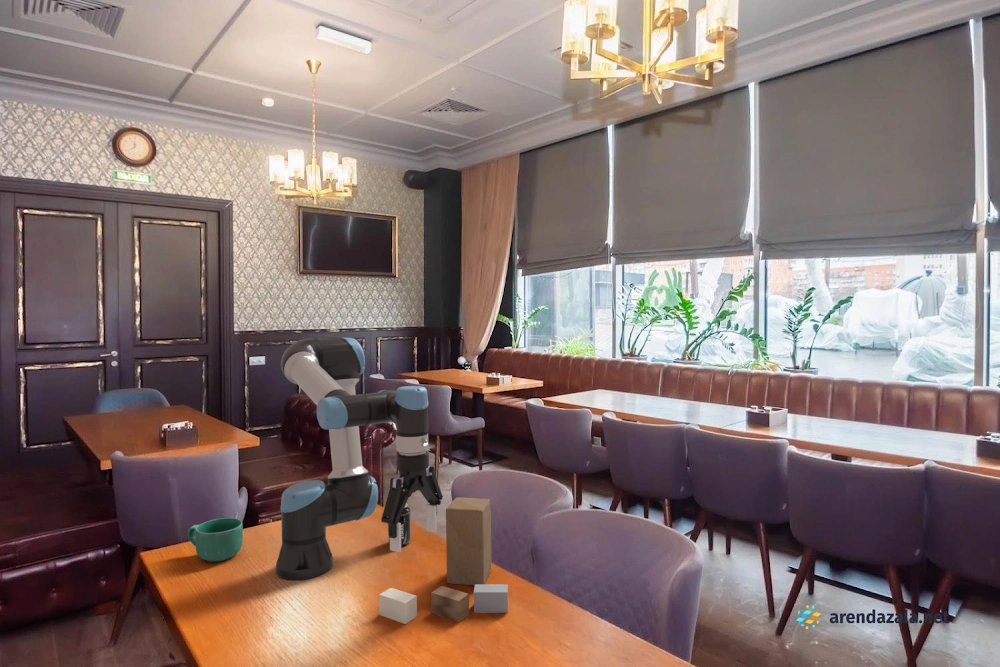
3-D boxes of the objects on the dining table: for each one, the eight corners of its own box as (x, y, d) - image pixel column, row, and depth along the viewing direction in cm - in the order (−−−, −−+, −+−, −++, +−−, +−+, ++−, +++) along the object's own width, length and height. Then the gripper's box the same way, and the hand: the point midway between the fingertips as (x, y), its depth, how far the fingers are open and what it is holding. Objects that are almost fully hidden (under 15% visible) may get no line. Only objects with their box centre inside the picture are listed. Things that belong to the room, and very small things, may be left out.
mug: (252, 551, 175) (252, 520, 174) (220, 568, 163) (219, 535, 162) (209, 544, 180) (209, 514, 180) (175, 561, 168) (174, 528, 168)
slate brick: (474, 613, 137) (473, 592, 137) (475, 604, 141) (474, 584, 141) (507, 613, 137) (507, 592, 137) (508, 604, 141) (507, 584, 141)
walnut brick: (431, 613, 137) (431, 592, 137) (442, 606, 141) (441, 585, 140) (459, 622, 133) (458, 601, 133) (469, 614, 136) (468, 593, 136)
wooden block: (483, 587, 150) (482, 510, 149) (446, 584, 152) (445, 508, 151) (491, 570, 160) (490, 498, 159) (456, 567, 162) (455, 496, 161)
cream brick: (379, 615, 137) (379, 594, 136) (391, 608, 140) (391, 587, 140) (405, 624, 132) (404, 603, 132) (416, 616, 136) (416, 595, 135)
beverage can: (408, 547, 176) (408, 508, 176) (386, 547, 176) (385, 508, 176) (412, 538, 183) (411, 501, 182) (390, 539, 183) (390, 501, 182)
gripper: (390, 465, 125) (391, 563, 125) (455, 443, 146) (456, 526, 147) (364, 461, 128) (365, 556, 129) (431, 440, 150) (432, 521, 151)
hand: (414, 540), depth 138 cm, fingers open, 13 cm apart
